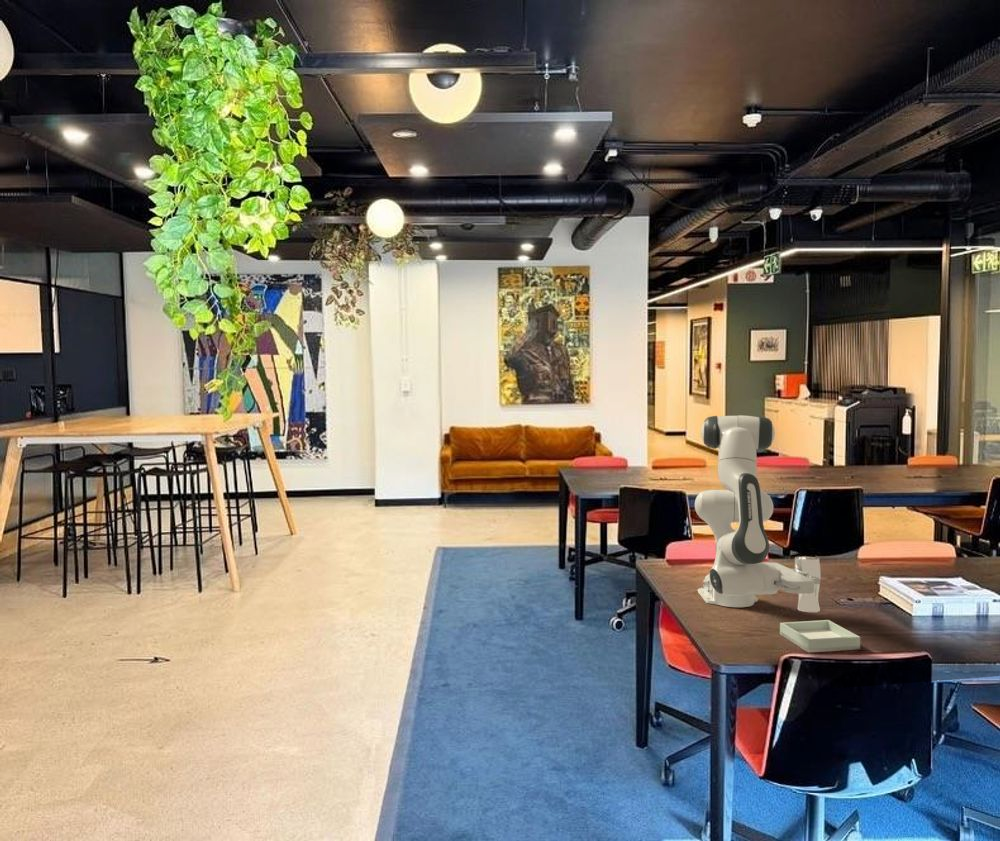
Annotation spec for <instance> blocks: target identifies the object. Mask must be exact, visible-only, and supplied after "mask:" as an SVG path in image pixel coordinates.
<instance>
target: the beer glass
mask: <svg viewBox="0 0 1000 841" xmlns="http://www.w3.org/2000/svg"><path fill="white" fill-rule="evenodd" d="M794 569H795V572H797V573H799V574H801V575H804V576H806V577H808V578H812V577H818V578H820V579H821V564H820V558H818V557H814V556H795V557H794ZM820 584H821V583H820ZM820 584H815V587H814V592H813V593H810V594H797V595H798V602H797V607H796V608H797V610H798V611H799V612H800V611H801V612H804V613H805V612H806V613H818V612H821V609H820V604H819V592H820Z"/></svg>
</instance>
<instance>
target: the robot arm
mask: <svg viewBox="0 0 1000 841" xmlns="http://www.w3.org/2000/svg"><path fill="white" fill-rule="evenodd" d="M700 436H701V439H702V441H703V444H704V445H705V446H706V447H707V448H709V449H714V450H716V449H718V455H717V456H718V459H717V461H718V462H717V474H718V479H719V482H720V484H721V486H722V487H723V488H725V489H710V490H709V489H708V490H704V491H700V492H699V493H698V494H697V495H696V498H695V501H694V510H695V512H696V515H697V516H698V517H699V518H700V519H701V520H702V521H704V522H705V523H706V524H707V525H708V526H709V528H710V530H711V531H712V533H713V536H714V541H715V558H714V559H713V565H712V567H711V569H710V570H709V573H708V574H707V575H706V576H705V577H704V579H703V580H702V586H703V587H699V588H697V591H698V592H697V593H698V594H699V595H700V597H701V598H702V599H703V601H705V602H704V603H706V604H710V605H711V604H712V605H718V606H722V607H728V608H746V607H747V608H748V607H752V606H754V605H755V603H756V602H758V601H759V598H758V597H757V596H756V595H758V596H759V595H760V596H761V595H775V594H777V593H778V591H779V590H783V591H784V592H786V593H789V594H797V595H798V594H810V593H813V592H814V587H815V584H821V577H820V578H818V577H812V578H808V577H806V576H804V575H801V574H799V573H797V572H795V568H789V567H787V566H785V565H783V564H780V563H778V562H774V561H764V560H765V559H766V558H767V557H768V555H769V551H770V541H769V539H768V538H769V537H768V536H767V533H766V530H765V527H764V522H767V521H768V520H770V518H771V517H772V515H773V513H774V503H773V499H772V498H771V496H770V495H769V494H768V493H767V492H765V491H764V490H762V489H761V486H760V483H759V480H758V473H757V472H758V469H757V468H758V464H757V462H758V461H757V459H758V458H757V457H758V456H757V450H758V451H762V450H766V449H769V448H770V447H771V446H772V443H773V441H774V440H775V427H774V425H773V422H772V420H771V419H770V418H768V417H764V416H754V415H753V416H752V415H741V414H739V415H724V416H723V415H721V416H717V415H712V416H708V417H706V418H705V419H704V422H703V423H702V426H701V429H700ZM732 523H739V524H738V527H737V529H734V528H733V527H732V525H731V524H732Z"/></svg>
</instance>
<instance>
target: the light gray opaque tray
mask: <svg viewBox="0 0 1000 841" xmlns="http://www.w3.org/2000/svg"><path fill="white" fill-rule="evenodd" d="M780 635H781V636H782V637H784V638H785V639H787V640H788V641H790V642H791V643H793V644H794V645H796V646H798V648H801V649H802V650H803V651H805V652H807V653H820V652H836V651H837V652H838V651H850V650H851V651H853V650H861V636H859V635H858V634H855V633H853V631H850V630H848V629H846V628H844V627H842V626H841V625H840V624H836V623H835V622H833V621H831V620H830V619H823V620H822V619H820V620H807V621H806V620H805V621H804V620H803V621H789V622H780V623H779V636H780Z"/></svg>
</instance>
